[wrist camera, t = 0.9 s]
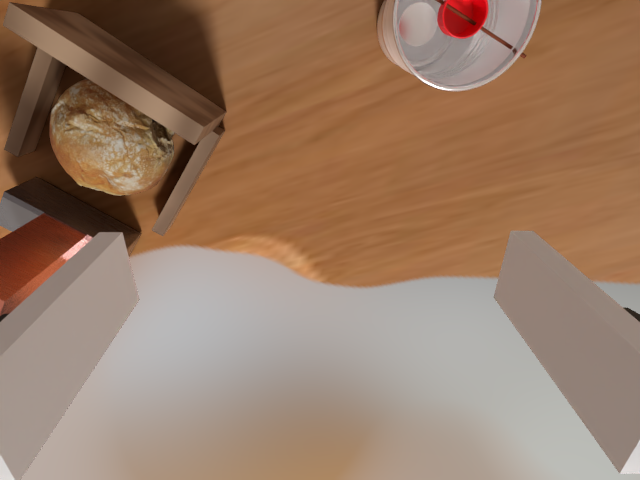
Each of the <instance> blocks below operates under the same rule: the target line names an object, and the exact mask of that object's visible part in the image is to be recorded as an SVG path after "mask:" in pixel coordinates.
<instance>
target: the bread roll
mask: <svg viewBox="0 0 640 480" xmlns="http://www.w3.org/2000/svg"><path fill="white" fill-rule="evenodd" d="M173 134H174V132H173V131H171V130H169V129H168V128H166V127H165V126H163V125H161V124H160V123H158V122H157V121H155V120H153V119H152V118H150V117H149V116H147V115H145V114H144V113H142V112H141V111H139V110H137V109H136V108H134V107H133V106H131V105H129V104H128V103H126V102H125V101H123V100H121V99H120V98H118V97H117V96H115V95H113V94H112V93H110V92H109V91H107V90H105V89H104V88H102V87H101V86H99V85H97V84H96V83H94V82H93V81H91V80H89V79H84V80H81V81H79V82H77V83H76V84H74V85H72V86H71V87H69V88H68V89H67V90H65V92H64V93H63V94H62V95H61V96H60V97H59V99H58V101H57V103H56V104H55V106H54V107H53V108H52V110H51V117H50V132H49V135H50V142H51V146H52V149H53V151H54V153H55V155H56V157H57V159H58V161H59V163H60V164H61V166H62V167H63V168H64V169H65V171H66V172H67V173H68V174H69V175H70V176H71V177H72V178H73V179H74V180H75V181H76V183H77V184H78V185H80V186H84V187H89V188H91V189H95V190H98V191H104V192H105V193H108V194H112V195H118V196H121V195H130V194H136V193H141V192H144V191H146V190H148V189H150V188H152V187H154V186H155V185H157V184H158V183H159V182H160V181H161V179H162V178H163V176H164V174H165V172H166V171H167V170H168V166H169V164H170V162H171V160H172V158H173V155H174V145H173V140H172V138H171V137H172V136H173Z"/></svg>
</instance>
